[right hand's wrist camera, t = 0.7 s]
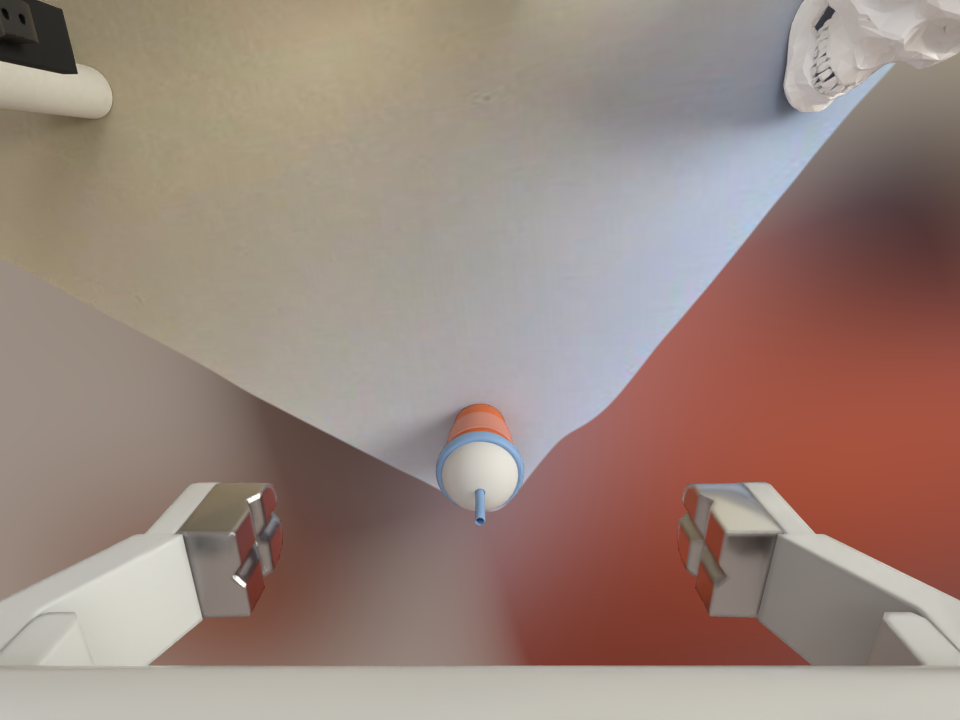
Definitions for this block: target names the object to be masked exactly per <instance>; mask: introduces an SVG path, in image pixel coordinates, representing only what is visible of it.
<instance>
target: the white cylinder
mask: <svg viewBox="0 0 960 720" xmlns="http://www.w3.org/2000/svg"><path fill="white" fill-rule="evenodd" d="M76 67H77V71H78V74H59V73H54V72H49V71H45V70H40V69H35V68H30V67H26V66H21V65H16V64H11V63H7V62H2V61H0V109H9V110H18V111H27V112H36V113H45V114H53V115H62V116H71V117H80V118H89V119H98V118H101V117H103V116H105V115H106V114H107V113H108V112H109V110H110V109H111V106H112V101H113V96H112V91H111V88H110V86H109V84H108V82H107V80H106V79H105V78H104V76H103V75H102V74H101V73H99V72H98V71H97V70H95V69H94V68H92V67H89V66H86V65H81V64H77V63H76Z"/></svg>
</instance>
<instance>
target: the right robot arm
mask: <svg viewBox="0 0 960 720" xmlns="http://www.w3.org/2000/svg"><path fill="white" fill-rule="evenodd" d="M277 503H278V499H277V494H276V489H275V487H274V486H273V485H272V484H271V483H230V482H222V483H219V482H196V483H193V484H190V485H189V486H188V487H187V488H186V489H185V490H184V491H183V492H182V494H181V495H180V496H179V497H178V498H177V499H176V500H175V501H174V502H173V503H172V504H171V506H170V507H169V508H168V509H167V510H166V511H165V512H164V513H163V514H162V515H161V517H160V518H159V519H158V520H157V521H156V522H155V523H154V524H153V525H152V526H151V527H150V529H149V530H148V531H147V532H146V533H145V534H136V535H133V536H131V537H129V538H127V539H125V540H123V541H121V542H119V543H117V544H115V545H113V546H111V547H109V548H107V549H105V550H103V551H101V552H99V553H97V554H95V555H92V556H90V557H88V558H86V559H84V560H82V561H80V562H78V563H76V564H74V565H72V566H70V567H68V568H66V569H64V570H62V571H60V572H58V573H56V574H54V575H51V576H49V577H47V578H45V579H43V580H41V581H39V582H37V583H35V584H33V585H31V586H29V587H27V588H25V589H23V590H21V591H19V592H17V593H15V594H13V595H10V596H9V597H6V598H4V599H2V600H0V720H960V601H959V600H957V599H955V598H953V597H951V596H949V595H947V594H945V593H943V592H941V591H939V590H937V589H935V588H933V587H931V586H929V585H927V584H925V583H923V582H921V581H918V580H916V579H914V578H912V577H910V576H908V575H906V574H904V573H902V572H900V571H898V570H896V569H894V568H892V567H890V566H888V565H886V564H884V563H882V562H880V561H878V560H876V559H874V558H871V557H869V556H867V555H865V554H863V553H861V552H859V551H857V550H855V549H853V548H851V547H849V546H847V545H845V544H843V543H841V542H839V541H837V540H835V539H833V538H831V537H829V536H827V535H825V534H815V533H814V532H813V531H812V530H811V529H810V528H809V526H808V525H807V524H806V523H805V522H804V521H803V520H802V519H801V518H800V517H799V515H798V514H797V513H796V512H795V511H794V510H793V509H792V508H791V507H790V506H789V504H788V503H787V502H786V501H785V500H784V499H783V498H782V497H781V496H780V495H779V494H778V492H777V491H776V490H775V489H774V488H773V487H772V486H771V485H770V484H768V483H765V482H744V483H718V484H687V486H686V488H685V490H684V493H683V499H682V503H683V505H684V506H685V508H686V510H687V513H686V514H685V515H684V516H683V517H682V518H681V519H680V520H679V524H678V532H677V540H678V550H679V553H680V557H681V560H682V562H683V564H684V566H685V568H686V570H687V571H688V572H690V573H691V574H693V575H694V576H696V577H697V581H696V587H695V588H696V590H697V592H698V594H699V596H700V598H701V600H702V602H703V604H704V606H705V608H706V610H707V611H708V613H709V615H710V616H727V617H758V618H757V620H758V621H760V622H761V623H762V624H763V625H764V626H766V627H767V628H768V629H769V630H770V631H772V632H773V633H774V634H775V635H776V636H778V637H779V638H780V639H781V640H782V641H784V642H785V643H786V644H787V645H788V646H790V647H791V648H792V649H793V650H794V651H796V652H797V653H798V654H799V655H800V656H802V657H803V658H804V659H805V660H807V661H808V662H809V663H810V664H811V665H813V666H148V665H149V664H150V663H151V662H152V661H154V660H155V659H156V658H157V657H158V656H160V655H161V654H162V653H163V652H164V651H166V650H167V649H168V648H169V647H171V646H172V645H173V644H174V643H175V642H177V641H178V640H179V639H180V638H181V637H183V636H184V635H185V634H186V633H187V632H189V631H190V630H191V629H192V628H194V627H195V626H196V625H197V624H198V623H200V622H201V621H202V620H203V618H202V617H232V616H250V615H251V614H252V612H253V610H254V608H255V606H256V604H257V602H258V600H259V598H260V596H261V594H262V592H263V590H264V588H265V587H264V581H263V577H264V576H266V575H267V574H269V573H270V572H272V571H273V570H274V568H275V566H276V564H277V562H278V560H279V557H280V553H281V548H282V544H283V530H282V523H281V520H280V519H279V518H278V517H277V516H276V515H275V514H274V513H273V510H274V508H275V506H276V505H277Z"/></svg>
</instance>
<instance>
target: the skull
mask: <svg viewBox="0 0 960 720" xmlns="http://www.w3.org/2000/svg"><path fill="white" fill-rule="evenodd" d="M828 5H829V6H830V7H831V8H833V9H834V10H835V12H834V14H833V16H832V18H831V19H828V20H827V21H826V22H825V23H824V25H823V27H821V28H820V29H819V30H818V32H817V30H816V29H815V26H816V24H817V23H818V21H819V20H820V18H821V17H822V15H823V14H824V12H825V10H826V9H827V7H828ZM818 46H819V47H818ZM817 47H818V49H817ZM959 52H960V0H804V1H803V2H802V4H801V5H800V7H799V9H798V11H797V13H796V16H795V18H794V20H793V22H792V26H791V31H790V35H789V43H788V57H787V67H786V73H785V79H784V84H783V86H784V91H785V95H786V97H787V100H788V102H789V103H790V104H791V106H792V107H794V108H795V109H797V110H799V111H800V112H818V111H822V110H823V109H825V108H826V107H827V106H828V105H829V104H830V103H831V102H832V101H833V100H834V99H836V98H838V97H840V96H842V95H844V94H845V93H847V92H848V91H849V90H851V89H853V88H855V87H857V86H858V85H859V84H861V83H862V82H863V81H865V80H866V79H867V78H868V77H869V76H871V75H872V74H873V73H874V72H876V71H877V70H878V69H879V68H881V67H882V66H883V65H886V64H888V63H893V62H899V61H903V62H906V63H908V64H910V65H912V66H913V67H915V68H916V69H918V70H920V69H924V68H928V67H930V66H932V65H935V64H937V63H940V62H942V61H944V60H946V59H948V58H950V57H952V56H954V55H956V54H957V53H959ZM825 53H826V55H825V56H823V55H824V54H825ZM822 56H823V57H822ZM820 57H821V58H820ZM826 60H828V61H826ZM825 61H826V62H825ZM816 63H817V65H816V66H815V64H816ZM829 66H830V67H831V69H827V68H829ZM826 69H827V70H826ZM824 70H826V71H824ZM822 71H824V72H822ZM820 72H822V73H821V74H819V75H818V76H817V77H815V74H816V73H820ZM832 72H834V74H835V76H834V77H832V78H831V79H829V80H828V81H826V82H824V80H825V79H826V78H828V77H829V76H830V75H831V73H832ZM818 78H819V79H820V82H818V83H817V82H816V81H817V79H818ZM836 83H837V84H836ZM835 84H836V85H835ZM820 86H822V87H820Z"/></svg>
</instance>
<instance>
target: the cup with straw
mask: <svg viewBox="0 0 960 720" xmlns="http://www.w3.org/2000/svg"><path fill="white" fill-rule="evenodd" d="M436 478H437V482H438V485H439V487H440V489H441V491H442V492H443V494H444V495H445V496H446V497H447V498H448V499H449V500H450V501H451V502H453V503H454V504H456V505H458V506H460V507H462V508H465V509H467V510H471V511H475V523H476V524H477V525H483V524H484V523H485V511H489V510H493V509H495V508H498V507H500V506H502V505H504V504H506V503H507V502H509V501H510V500H511V499H512V498H513V497H514V496H515V495H516V494H517V492H518V491H519V489H520V487H521V485H522V482H523V478H524V464H523V460H522V457H521V455H520V453H519V452H518V450H517V449H516V447H515V446H514V444H513V441H512V438H511V434H510V431H509V429H508V427H507V425H506V423H505V420H504V418H503V416H502V415H501V413H500V412H499V411H498V410H497V409H495V408H494V407H492V406H489V405H486V404H475V405H471V406H468V407H466V408H465V409H463V410H462V411H461V412H460V413H459V415H458V416H457V418H456V420H455V423H454V425H453V427H452V429H451V431H450V434H449V438H448V441H447V444H446V446H445V447H444V449H443V450H442V451H441V453H440V455H439V457H438V460H437V464H436Z"/></svg>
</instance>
